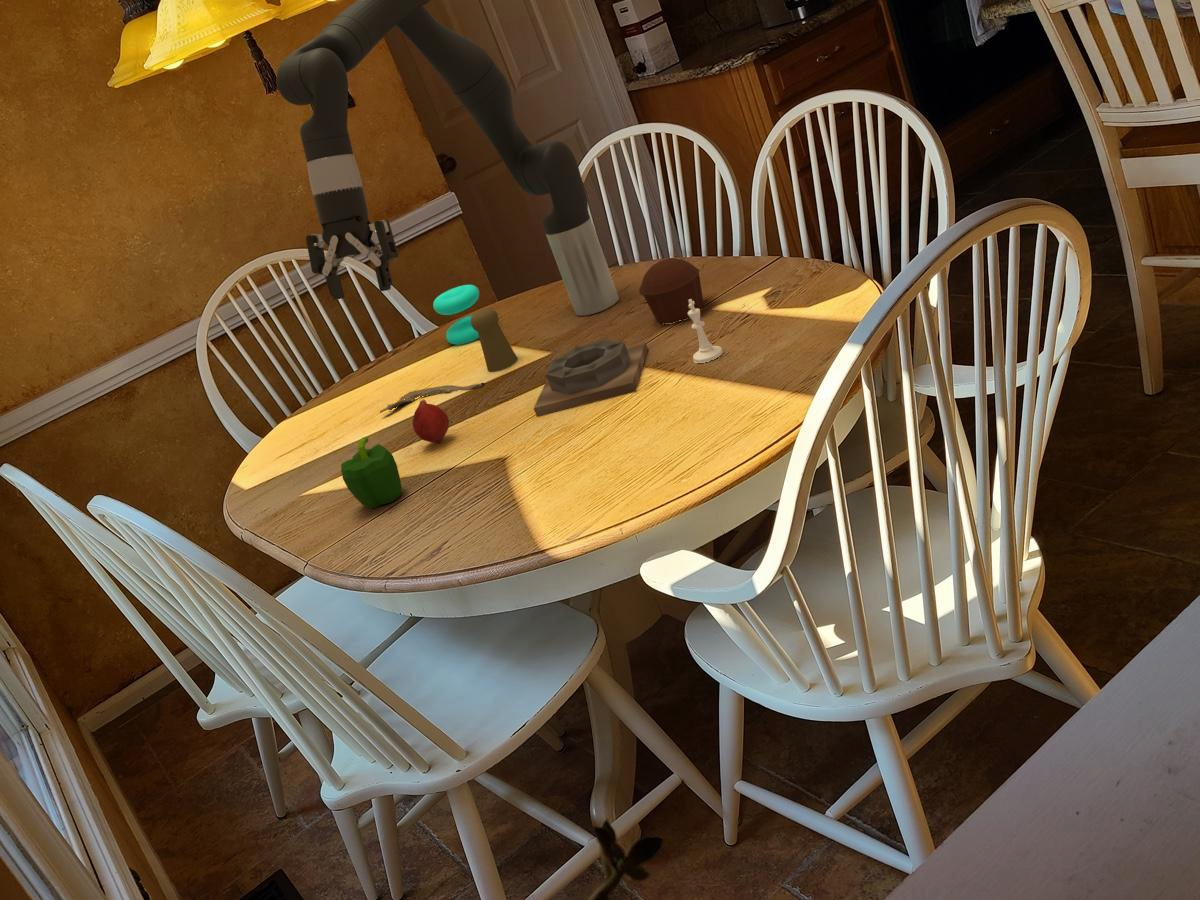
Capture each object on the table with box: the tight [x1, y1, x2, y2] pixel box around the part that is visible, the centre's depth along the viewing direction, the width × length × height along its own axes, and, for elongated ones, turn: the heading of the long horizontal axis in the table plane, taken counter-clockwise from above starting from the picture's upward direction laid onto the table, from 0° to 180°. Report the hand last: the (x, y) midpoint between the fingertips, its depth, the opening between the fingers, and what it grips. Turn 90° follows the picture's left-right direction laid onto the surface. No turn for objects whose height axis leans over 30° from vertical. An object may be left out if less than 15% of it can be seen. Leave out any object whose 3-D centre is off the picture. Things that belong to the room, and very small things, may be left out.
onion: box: [412, 398, 450, 444], centre depth 183 cm, size 6×6×8 cm
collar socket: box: [533, 338, 649, 417], centre depth 184 cm, size 17×17×4 cm
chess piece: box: [688, 299, 724, 364], centre depth 175 cm, size 5×5×10 cm
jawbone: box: [379, 382, 486, 414], centre depth 207 cm, size 9×20×2 cm, turn 88°
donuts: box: [432, 284, 480, 346], centre depth 231 cm, size 10×10×10 cm
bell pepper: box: [340, 436, 403, 509], centre depth 169 cm, size 8×8×10 cm
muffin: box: [638, 257, 705, 325], centre depth 198 cm, size 12×11×10 cm
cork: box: [471, 308, 519, 373], centre depth 207 cm, size 6×6×11 cm
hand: (362, 294), depth 172 cm, fingers open, 8 cm apart
